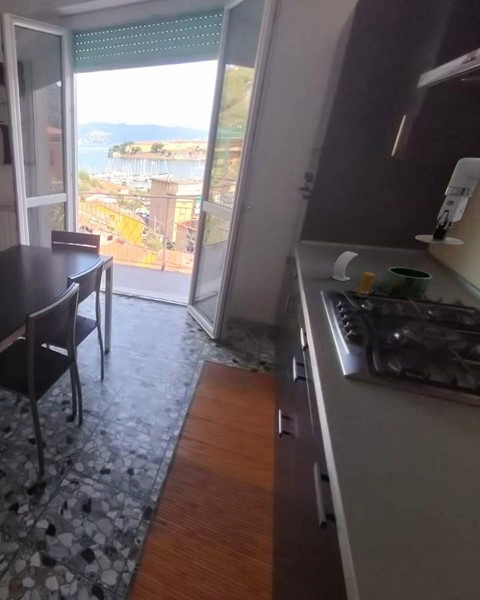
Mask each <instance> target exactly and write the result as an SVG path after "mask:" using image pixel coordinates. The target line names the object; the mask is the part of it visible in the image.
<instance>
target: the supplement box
mask: <svg viewBox="0 0 480 600" xmlns="http://www.w3.org/2000/svg"><path fill="white" fill-rule="evenodd" d="M375 278H376V274H374V273H373V272H367V271H364V272H363V274H362V277H361V279H360V282H359V284H358V287H357V289H356V292H357V293H358V294H367V295H368V296H369V294H370V291H371V288H372V287H373V283H374V281H375ZM356 295H357V294H356V293H355V296H356Z"/></svg>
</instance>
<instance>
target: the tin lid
mask: <svg viewBox="0 0 480 600" xmlns="http://www.w3.org/2000/svg"><path fill="white" fill-rule="evenodd" d="M446 229H447V231H446V233H445V236H444V238H443V239H437V238H433V235H434V234H417V235H415V237H414V238H415V240H418V241H421V242H424V243H427V244H432V245H438V246H439V245H440V246H462V245H464V243H465V241H464V240H461V239H458V238H454V237H449V235H450V233H449V231H450V232H451V230H452V227H451V226H447V228H446ZM450 229H451V230H450ZM448 234H449V235H448ZM447 236H448V237H447Z"/></svg>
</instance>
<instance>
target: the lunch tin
mask: <svg viewBox="0 0 480 600" xmlns="http://www.w3.org/2000/svg"><path fill="white" fill-rule="evenodd" d="M433 277H434V276H433V275H432V274H431V273H429V272H426V271H425V270H420V269H416V268H410V267H402V266H391V267H388V268H387V269H386V273H385V275H384V278H383V281H382V283H381V287H380V289H381V291H383V292H384V293H386V294H389V295H391V296H395V297H398V298H399V297H400V298H405V299H412V300H415V299H423V298H424V297H425V296H426V294H427V292H428V289H429V287H430V285H431V283H432V280H433Z"/></svg>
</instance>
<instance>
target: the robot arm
mask: <svg viewBox="0 0 480 600" xmlns="http://www.w3.org/2000/svg"><path fill="white" fill-rule="evenodd" d="M479 180H480V157H463V158H460V159H459V160H458V161H457V163H456V166H455V168H454V170H453V173H452V175H451V177H450V180H449V183H448V184H447V188H446V190H445V192H444V196H446V197H445V199H444V201H443V203H442V206H441V208H440V211H439V213H438V215H437V219H436V220H437V221H438V223H437V226H436V227H435V230H434V231H433V234H432V235H433V238H437V239H443V238H444V236H445V233H446V231H447V229H446V228H447V226H451V229H450V231H449V234H448V236H447V237H449V235H450V233H451V230H452V228H453V225H454V223H456V222H458V221H461V219H462V217H463V214H464V211H465V209H466V206H467V203H468V201H469V198H471V197H472V195H473V193H474V191H475V188H476V186H477V184H478V182H479Z"/></svg>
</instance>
